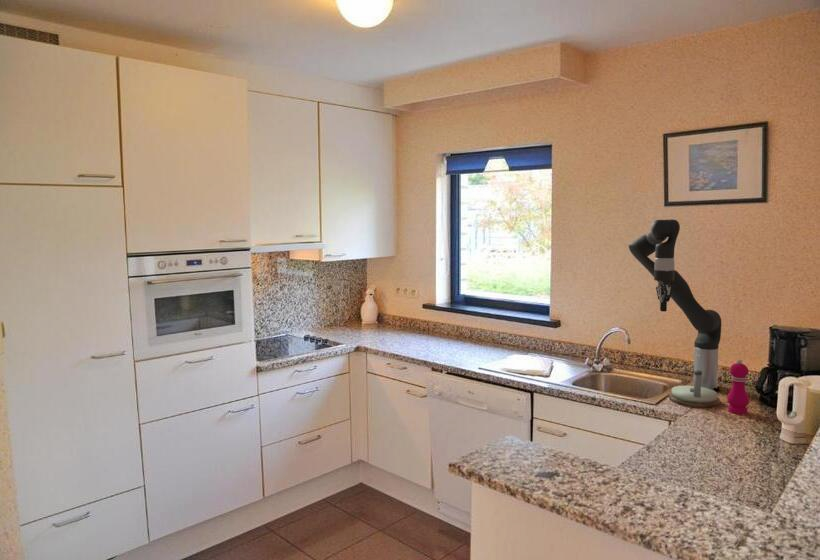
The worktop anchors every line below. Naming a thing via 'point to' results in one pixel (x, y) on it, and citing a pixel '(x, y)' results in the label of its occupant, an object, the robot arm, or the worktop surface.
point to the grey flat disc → (694, 403)
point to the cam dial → (695, 391)
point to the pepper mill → (738, 389)
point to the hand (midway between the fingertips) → (663, 311)
